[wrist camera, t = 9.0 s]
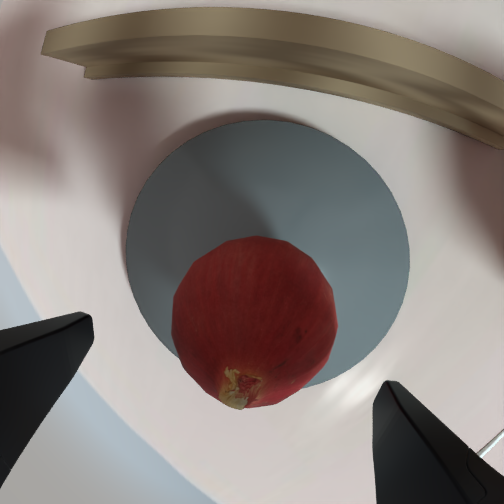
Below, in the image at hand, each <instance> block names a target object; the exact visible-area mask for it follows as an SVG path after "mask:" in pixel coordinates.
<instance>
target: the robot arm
mask: <svg viewBox="0 0 504 504" xmlns="http://www.w3.org/2000/svg"><path fill="white" fill-rule="evenodd" d="M93 341H94V331H93V321H92V317H91V316H90V315H89V314H86V313H84V312H75V313H71V314H67V315H63V316H59V317H55V318H50V319H46V320H42V321H38V322H33V323H29V324H25V325H21V326H17V327H12V328H8V329H3V330H0V488H1V486H2V484H3V483H4V481H5V479H6V478H7V476H8V475H9V473H10V471H11V469H12V468H13V466H14V464H15V463H16V461H17V460H18V458H19V456H20V455H21V453H22V452H23V450H24V449H25V447H26V446H27V444H28V442H29V441H30V439H31V438H32V436H33V435H34V433H35V432H36V430H37V429H38V427H39V426H40V424H41V423H42V421H43V420H44V418H45V417H46V415H47V414H48V412H49V411H50V410H51V408H52V407H53V405H54V404H55V402H56V401H57V400H58V398H59V397H60V395H61V394H62V393H63V391H64V390H65V388H66V387H67V385H68V384H69V383H70V381H71V380H72V378H73V377H74V375H75V373H76V372H77V370H78V368H79V366H80V365H81V363H82V361H83V359H84V358H85V356H86V354H87V353H88V351H89V349H90V347H91V346H92V344H93ZM372 448H373V462H374V473H375V486H376V502H377V504H504V476H503V475H501V474H500V473H499V472H497V471H496V470H495V469H494V468H492V467H491V466H490V465H489V464H487V463H486V462H485V461H484V460H483V459H482V458H481V457H479V456H478V455H477V454H476V453H475V452H474V451H473V450H472V449H471V448H469V447H468V446H467V445H466V444H465V443H464V442H463V441H462V440H461V439H460V438H459V437H458V436H457V435H456V434H454V433H453V432H452V431H451V430H450V429H449V428H448V427H447V426H446V425H445V424H444V423H443V422H441V421H440V420H439V419H438V418H437V417H436V416H435V415H434V414H433V413H432V412H431V411H430V410H428V409H427V408H426V407H425V406H424V405H423V404H422V403H421V402H420V401H419V400H418V399H416V398H415V397H414V396H413V395H412V394H411V393H410V392H409V391H408V390H407V389H406V388H405V387H403V386H402V385H401V384H400V383H399V382H397V381H389V380H386V381H384V383H383V384H382V386H381V388H380V390H379V392H378V394H377V396H376V398H375V400H374V402H373V441H372Z"/></svg>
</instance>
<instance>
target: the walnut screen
mask: <svg viewBox="0 0 504 504" xmlns="http://www.w3.org/2000/svg"><path fill="white" fill-rule="evenodd" d="M41 55H45V56H49V57H53V58H56V59H60V60H64V61H67V62H71V63H74V64H77V65H81V66H84V67H86V70H85V75H84V77H85V78H88V79H92V80H93V79H105V78H122V77H200V78H217V79H230V80H241V81H251V82H259V83H267V84H275V85H282V86H288V87H294V88H300V89H306V90H312V91H317V92H322V93H327V94H332V95H337V96H341V97H346V98H350V99H354V100H358V101H362V102H366V103H370V104H374V105H378V106H381V107H385V108H388V109H392V110H395V111H398V112H402V113H405V114H408V115H411V116H414V117H417V118H421V119H423V120H426V121H429V122H432V123H435V124H438V125H441V126H443V127H446V128H449V129H451V130H454V131H456V132H459V133H461V134H464V135H466V136H469V137H471V138H474V139H476V140H478V141H481V142H483V143H485V144H487V145H490V146H492V147H494V148H496V149H501V150H504V81H503V80H501V79H499V78H497V77H495V76H494V75H492V74H490V73H488V72H486V71H484V70H482V69H480V68H478V67H476V66H474V65H472V64H470V63H468V62H465V61H463V60H461V59H459V58H456V57H454V56H452V55H450V54H447V53H445V52H442V51H440V50H437V49H435V48H432V47H430V46H427V45H424V44H422V43H419V42H416V41H413V40H410V39H407V38H404V37H401V36H398V35H395V34H392V33H388V32H385V31H381V30H378V29H374V28H370V27H367V26H363V25H359V24H354V23H350V22H346V21H341V20H336V19H331V18H326V17H320V16H314V15H308V14H302V13H294V12H286V11H277V10H267V9H254V8H233V7H194V8H174V9H161V10H150V11H141V12H134V13H127V14H120V15H114V16H108V17H103V18H98V19H93V20H88V21H84V22H79V23H75V24H71V25H67V26H63V27H60V28H56V29H53V30H49V31H47V32H46V36H45V40H44V43H43V47H42V51H41Z"/></svg>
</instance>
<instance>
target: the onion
mask: <svg viewBox="0 0 504 504" xmlns="http://www.w3.org/2000/svg"><path fill="white" fill-rule="evenodd" d="M337 329H338V321H337V315H336V308H335V302H334V295H333V289H332V287H331V286H330V284H329V283H328V281H327V280H326V278H325V276H324V275H323V273H322V272H321V270H320V269H319V267H318V266H317V264H316V263H315V261H314V260H313V259H312V257H310V256H309V255H307V254H306V253H304V252H303V251H301V250H300V249H298V248H297V247H295V246H294V245H292V244H291V243H289V242H288V241H284V240H279V239H273V238H268V237H262V236H257V235H256V236H250V237H245V238H240V239H234V240H229V241H226V242H224V243H223V244H221V245H219V246H218V247H216V248H215V249H213V250H211V251H210V252H208V253H207V254H205V255H204V256H202V257H200V258H199V259H197V260H196V261H194V262H193V264H192V265H191V267H190V268H189V270H188V271H187V273H186V275H185V276H184V278H183V279H182V281H181V283H180V284H179V286H178V288H177V290H176V292H175V294H174V296H173V309H172V325H171V336H172V339H173V343H174V346H175V348H176V351H177V353H178V356H179V359H180V361H181V364H182V366H183V368H184V369H185V371H186V372H187V373H188V374H189V375H190V376H191V377H192V378H193V379H194V380H195V381H196V382H197V384H198V385H199V386H201V388H202V389H203V390H204V391H205V392H206V393H208V394H209V395H211V396H212V397H214V398H216V399H217V400H219V401H220V402H222V403H223V404H225V405H227V406H229V407H231V408H234V409H239V410H242V409H244V408H254V407H261V406H268V405H274V404H277V403H279V402H281V401H282V400H284V399H286V398H287V397H289V396H291V395H292V394H294V393H296V392H297V391H299V390H300V389H301V388H302V387H304V386H305V385H306V384H307V383H308V382H309V381H310V380H311V379H312V378H313V377H314V376H315V375H316V374H317V373H318V372H319V371H320V370H321V369H322V368H323V367H324V366H325V364H326V363H327V361H328V359H329V356H330V353H331V350H332V347H333V344H334V341H335V338H336V334H337Z"/></svg>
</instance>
